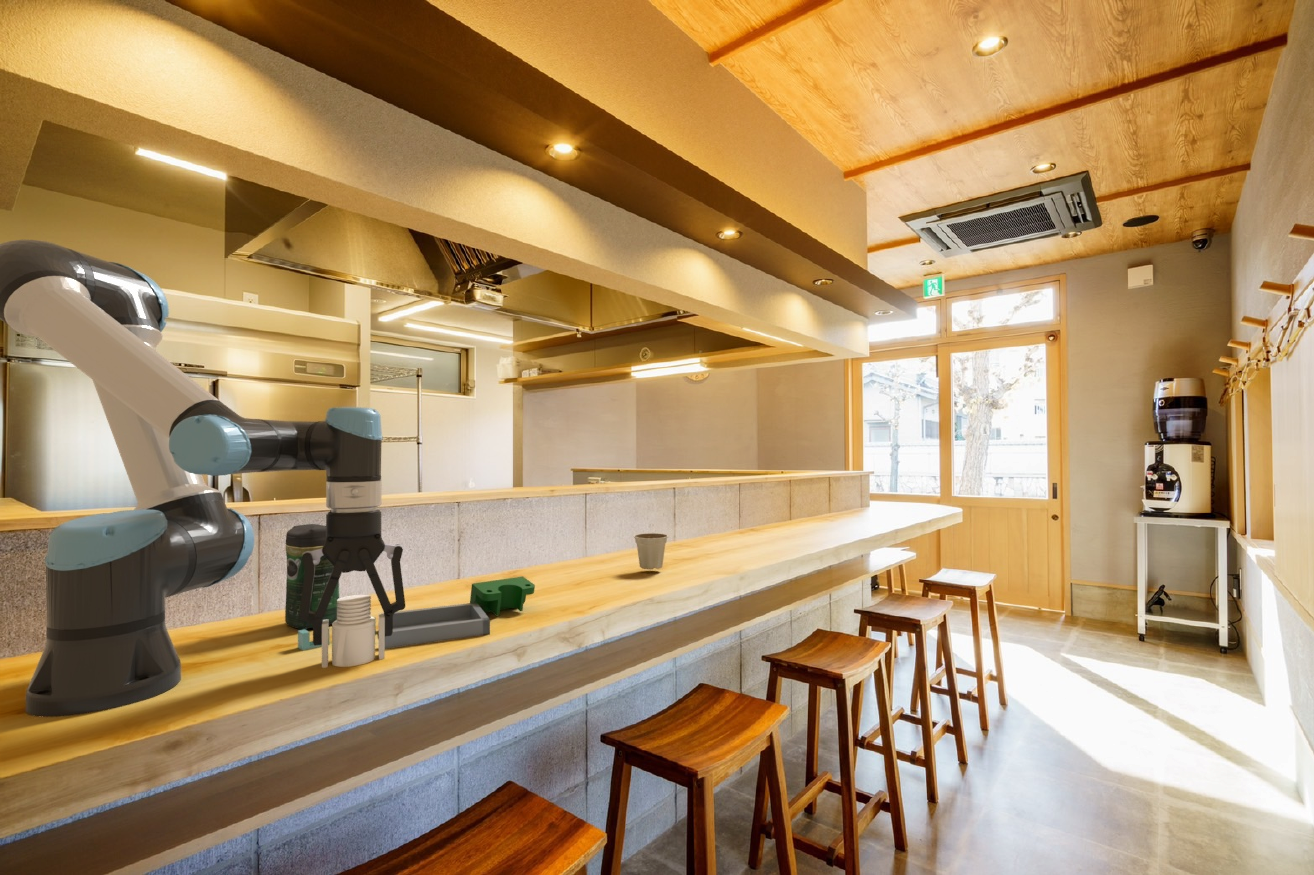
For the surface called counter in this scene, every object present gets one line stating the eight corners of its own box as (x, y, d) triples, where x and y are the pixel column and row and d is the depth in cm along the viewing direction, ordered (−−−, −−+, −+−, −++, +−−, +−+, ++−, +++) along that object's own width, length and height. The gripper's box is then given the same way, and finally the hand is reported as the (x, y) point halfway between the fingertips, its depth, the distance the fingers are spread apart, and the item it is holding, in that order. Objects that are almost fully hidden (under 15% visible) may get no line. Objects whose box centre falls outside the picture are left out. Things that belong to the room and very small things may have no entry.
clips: (304, 653, 97) (304, 634, 98) (296, 649, 99) (296, 630, 100) (377, 635, 107) (377, 618, 107) (369, 631, 109) (369, 615, 109)
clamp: (490, 638, 117) (476, 599, 114) (476, 625, 122) (463, 588, 118) (543, 605, 124) (532, 568, 121) (528, 594, 128) (517, 558, 125)
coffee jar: (347, 623, 114) (347, 523, 115) (302, 633, 108) (302, 528, 108) (322, 614, 120) (322, 520, 120) (278, 624, 114) (278, 524, 114)
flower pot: (668, 571, 160) (668, 538, 161) (632, 571, 161) (632, 538, 161) (668, 564, 170) (668, 533, 170) (634, 564, 170) (634, 533, 170)
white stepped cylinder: (345, 655, 96) (345, 592, 97) (389, 656, 96) (389, 592, 96) (315, 674, 88) (315, 605, 89) (362, 674, 88) (363, 605, 88)
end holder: (382, 652, 98) (382, 633, 98) (379, 630, 110) (379, 613, 110) (489, 636, 105) (489, 619, 106) (476, 618, 117) (476, 602, 117)
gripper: (274, 515, 85) (273, 681, 84) (426, 508, 94) (426, 659, 93) (280, 510, 91) (279, 664, 91) (421, 504, 100) (421, 644, 100)
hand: (353, 661), depth 92 cm, fingers closed on white stepped cylinder, 7 cm apart
